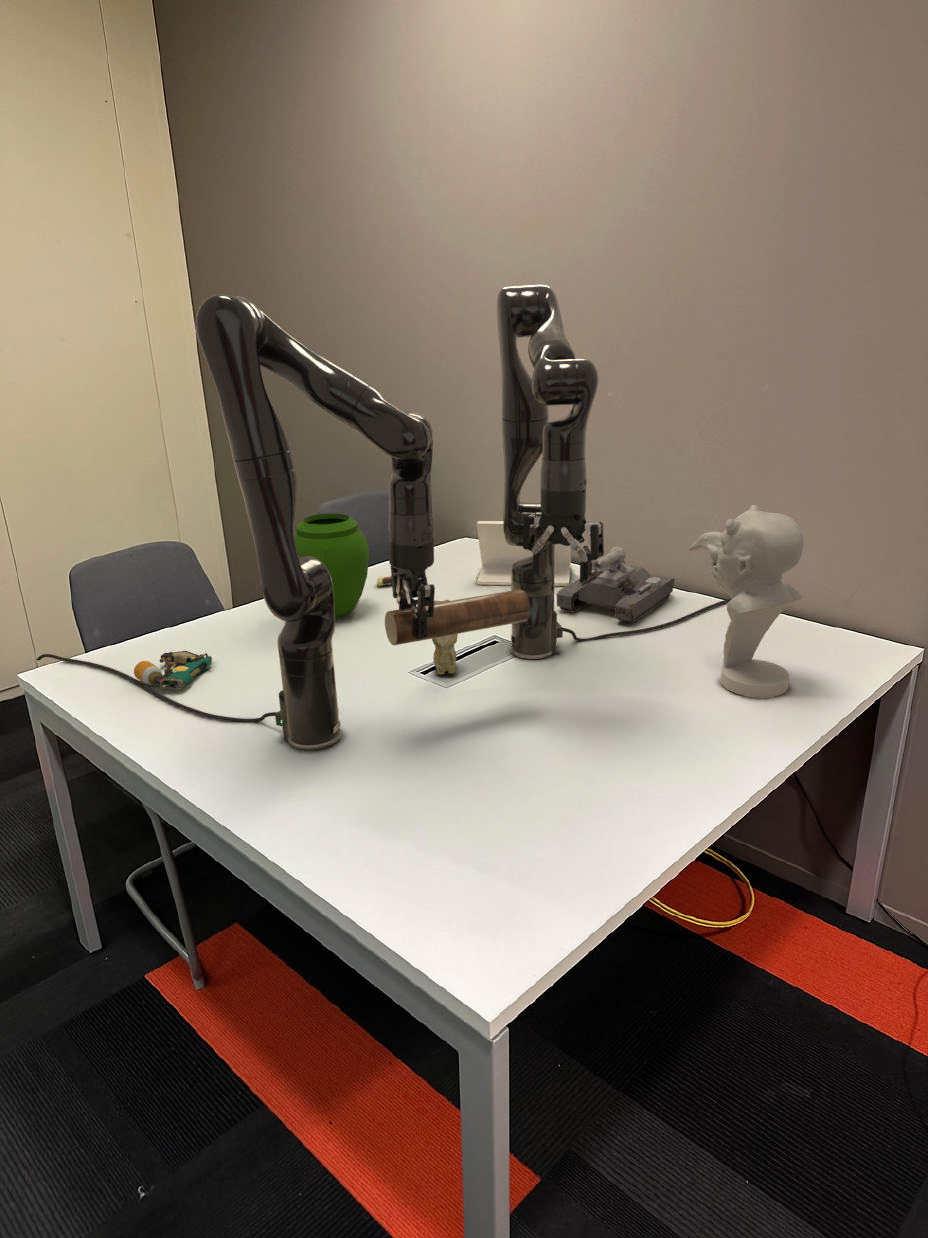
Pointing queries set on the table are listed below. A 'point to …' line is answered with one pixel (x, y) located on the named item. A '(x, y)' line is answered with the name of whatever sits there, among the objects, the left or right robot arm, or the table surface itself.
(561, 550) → the tablet stand
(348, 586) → the vase
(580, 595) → the toy
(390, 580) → the toy gun
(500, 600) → the rod
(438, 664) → the sculpture
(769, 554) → the bust sculpture
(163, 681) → the spray gun
